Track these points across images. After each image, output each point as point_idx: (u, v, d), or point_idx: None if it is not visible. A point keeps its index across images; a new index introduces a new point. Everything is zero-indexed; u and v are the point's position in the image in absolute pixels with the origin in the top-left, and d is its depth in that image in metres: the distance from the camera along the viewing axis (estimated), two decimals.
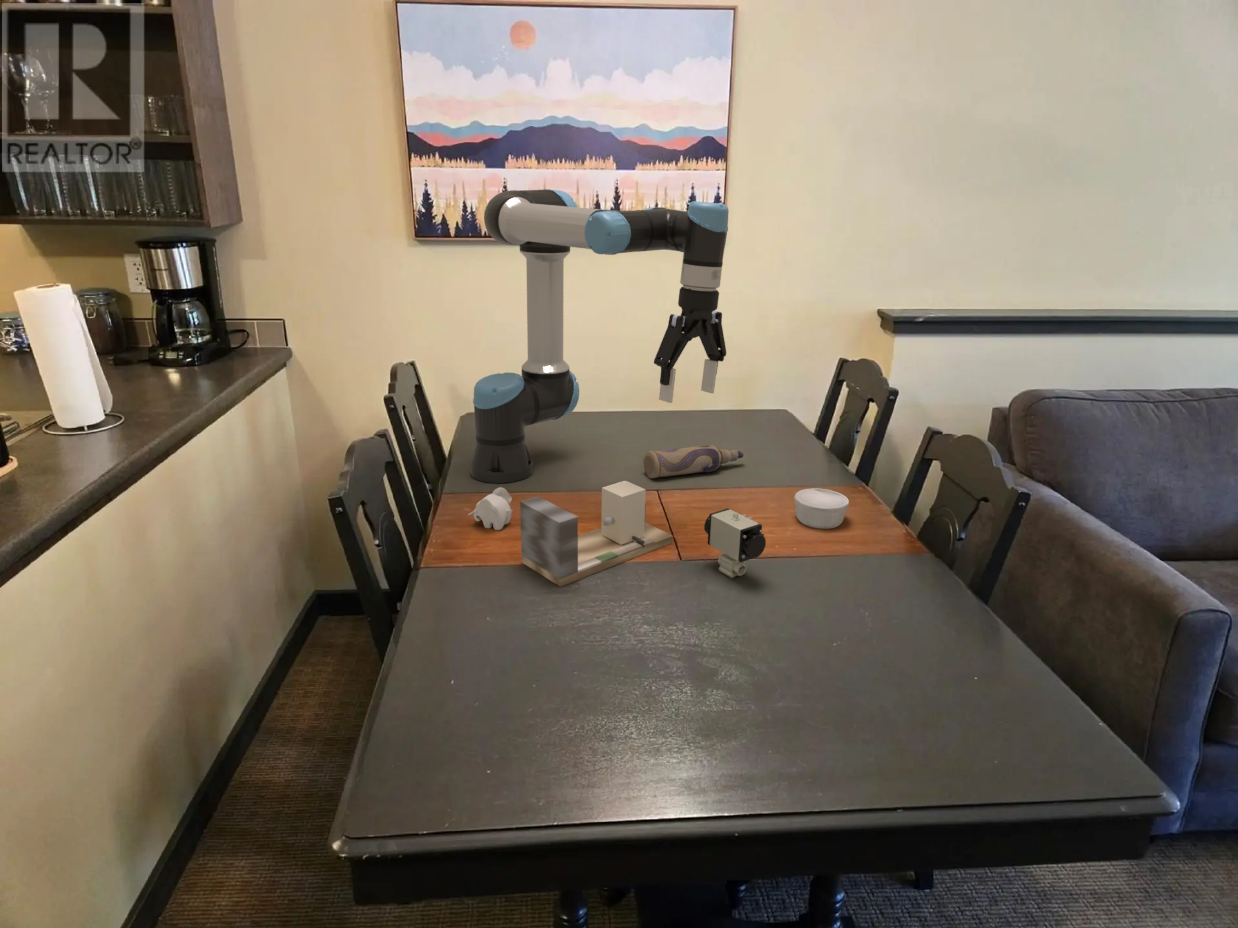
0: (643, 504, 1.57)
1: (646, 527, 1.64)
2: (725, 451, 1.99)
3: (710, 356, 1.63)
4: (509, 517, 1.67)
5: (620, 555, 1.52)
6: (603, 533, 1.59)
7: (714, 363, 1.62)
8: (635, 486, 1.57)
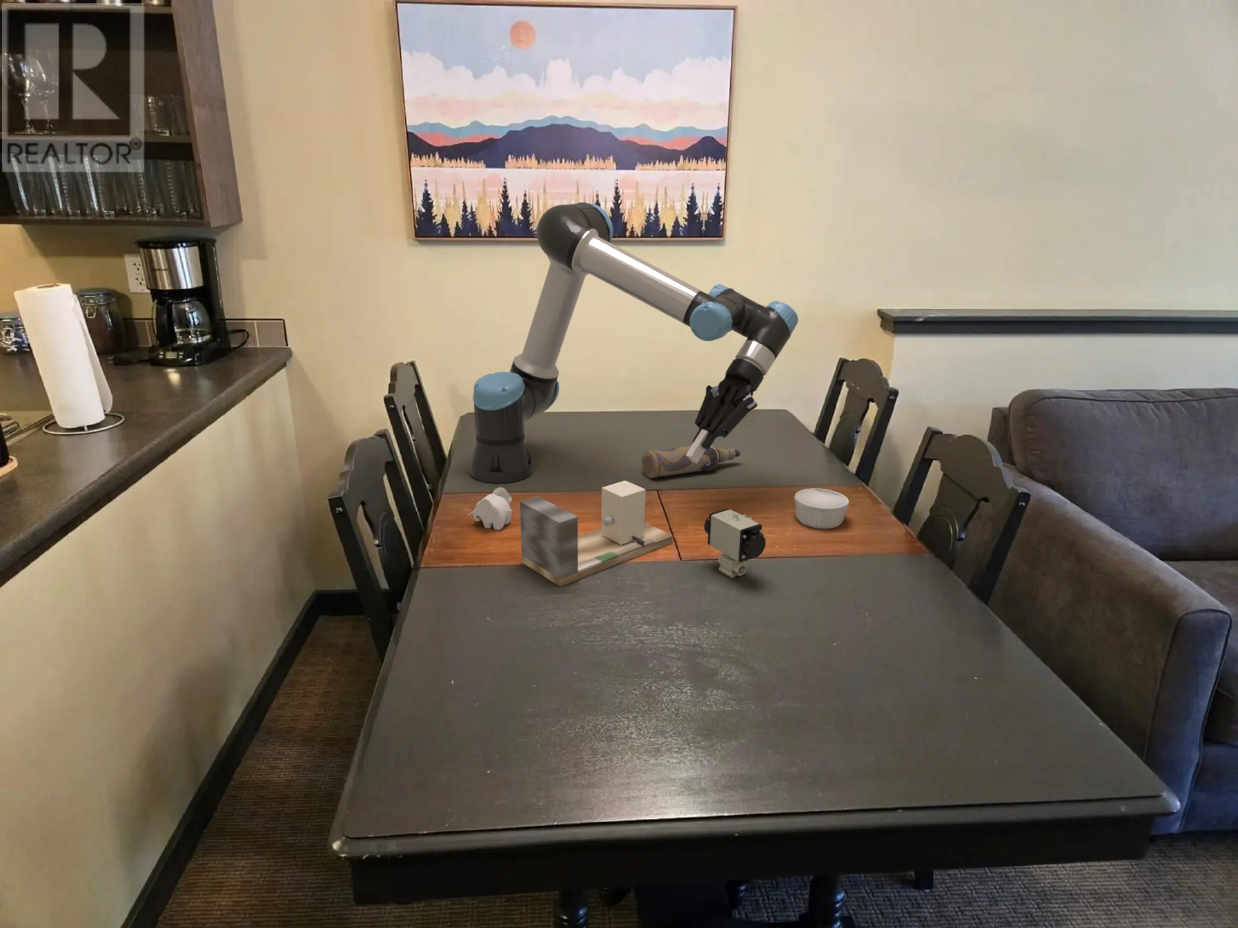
0: (643, 504, 1.57)
1: (646, 527, 1.64)
2: (723, 450, 2.00)
3: (705, 428, 1.68)
4: (509, 517, 1.67)
5: (620, 555, 1.52)
6: (603, 533, 1.59)
7: None
8: (635, 486, 1.57)
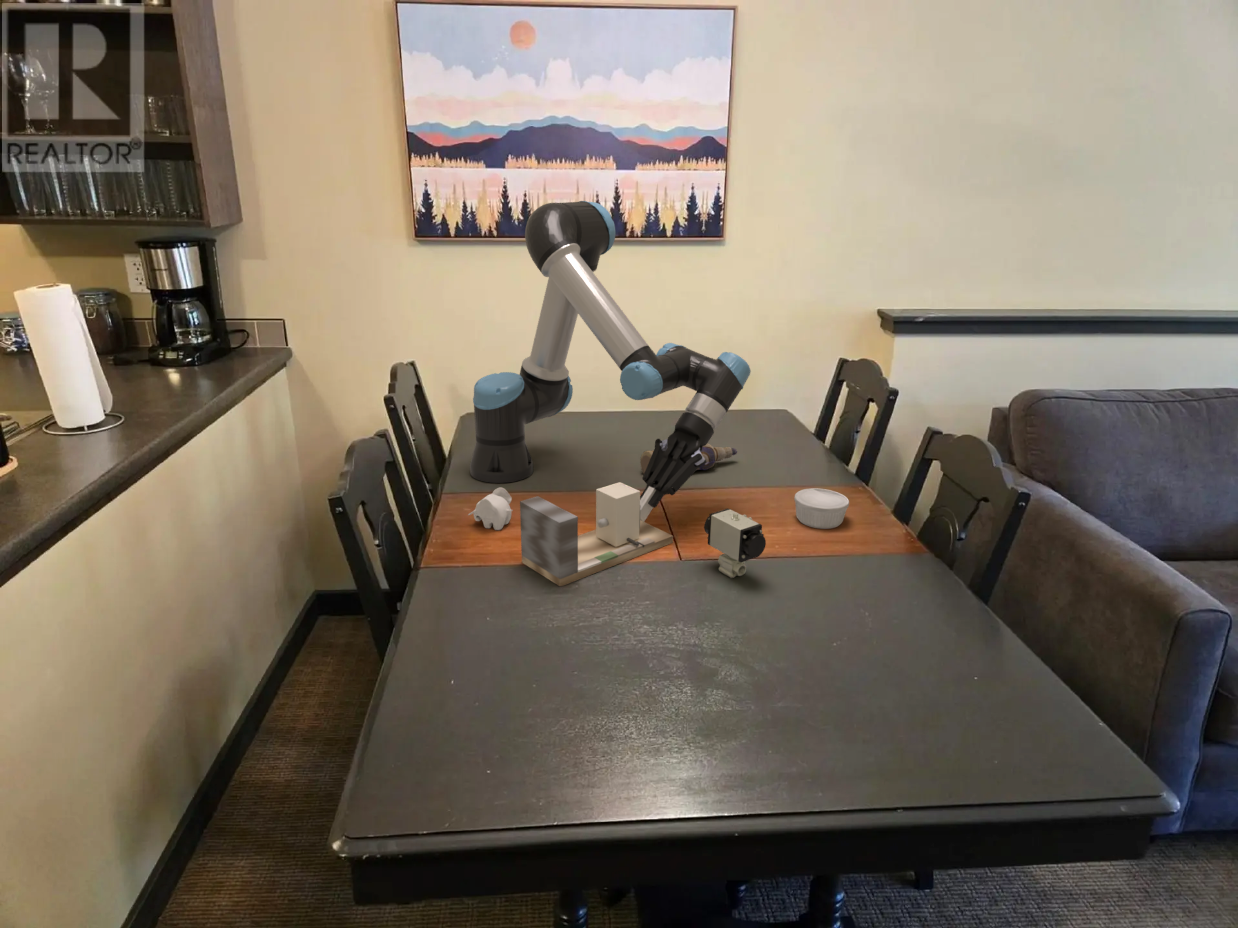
0: (638, 506, 1.56)
1: (646, 527, 1.64)
2: (720, 448, 2.01)
3: (653, 485, 1.62)
4: (509, 517, 1.67)
5: (620, 555, 1.52)
6: (597, 535, 1.59)
7: None
8: (630, 488, 1.56)
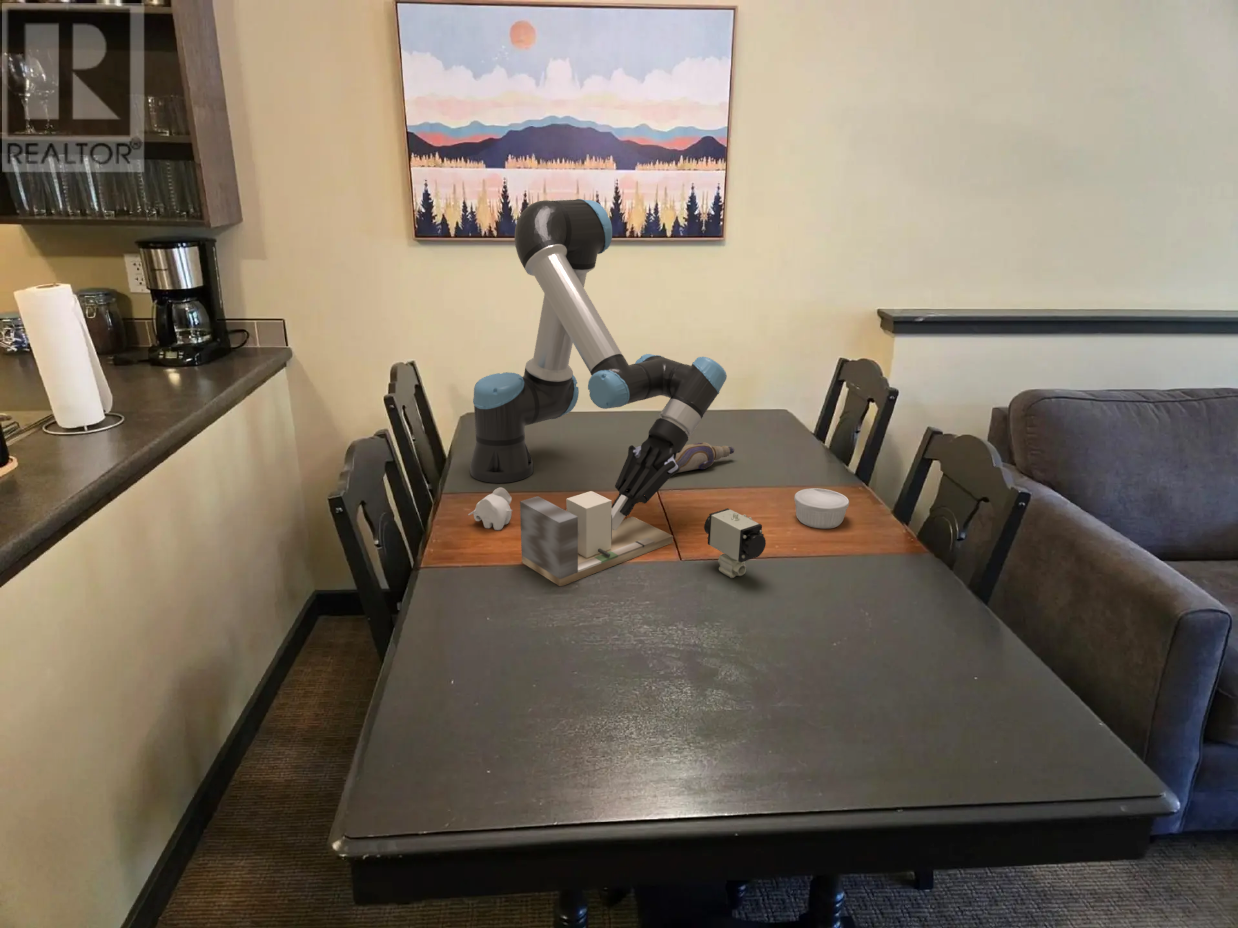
0: (609, 516, 1.51)
1: (646, 527, 1.64)
2: (718, 447, 2.01)
3: (625, 493, 1.58)
4: (509, 517, 1.67)
5: (620, 555, 1.52)
6: None
7: None
8: (601, 497, 1.52)
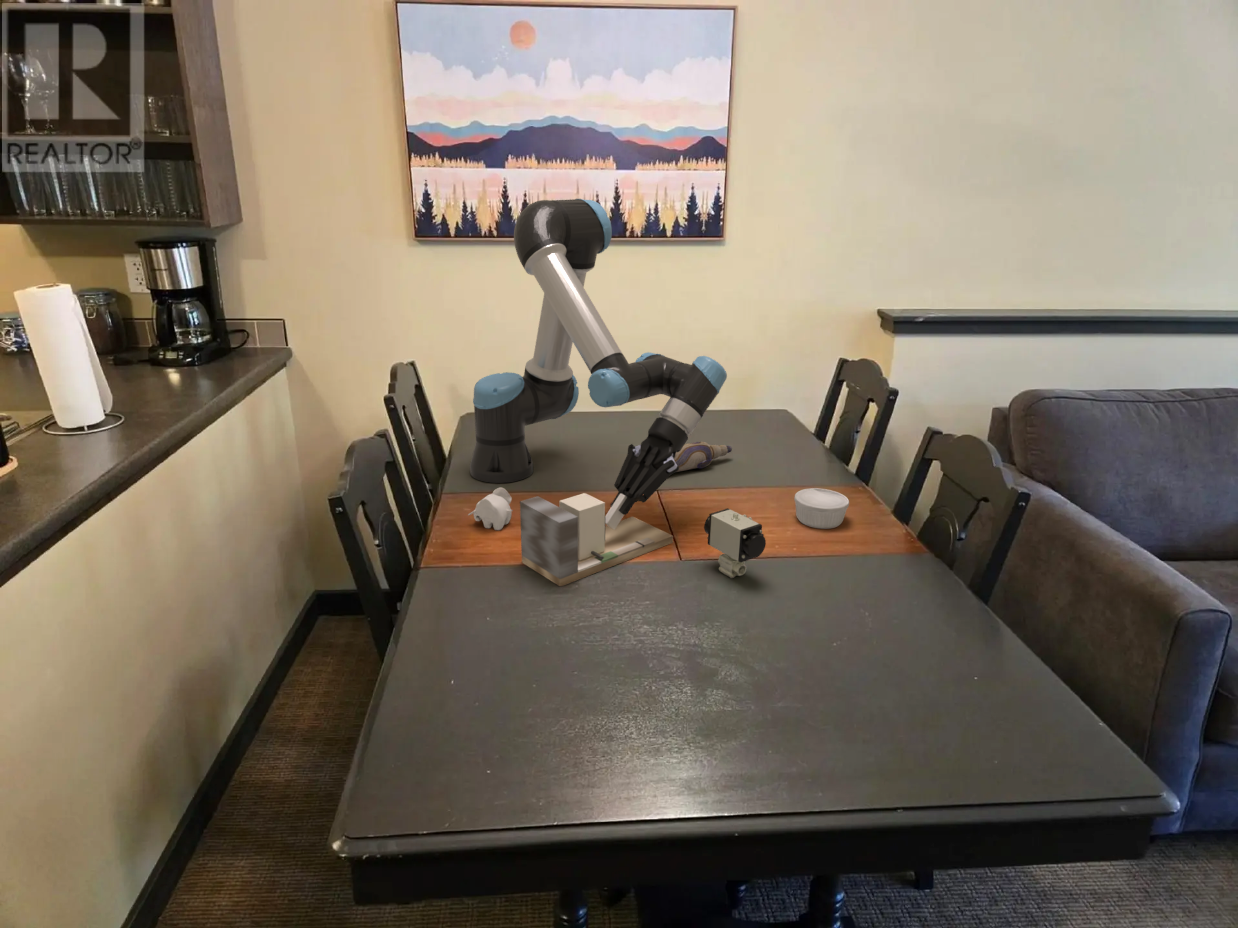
0: (602, 518, 1.50)
1: (646, 527, 1.64)
2: (715, 446, 2.02)
3: (624, 492, 1.58)
4: (509, 517, 1.67)
5: (620, 555, 1.52)
6: None
7: None
8: (594, 499, 1.51)
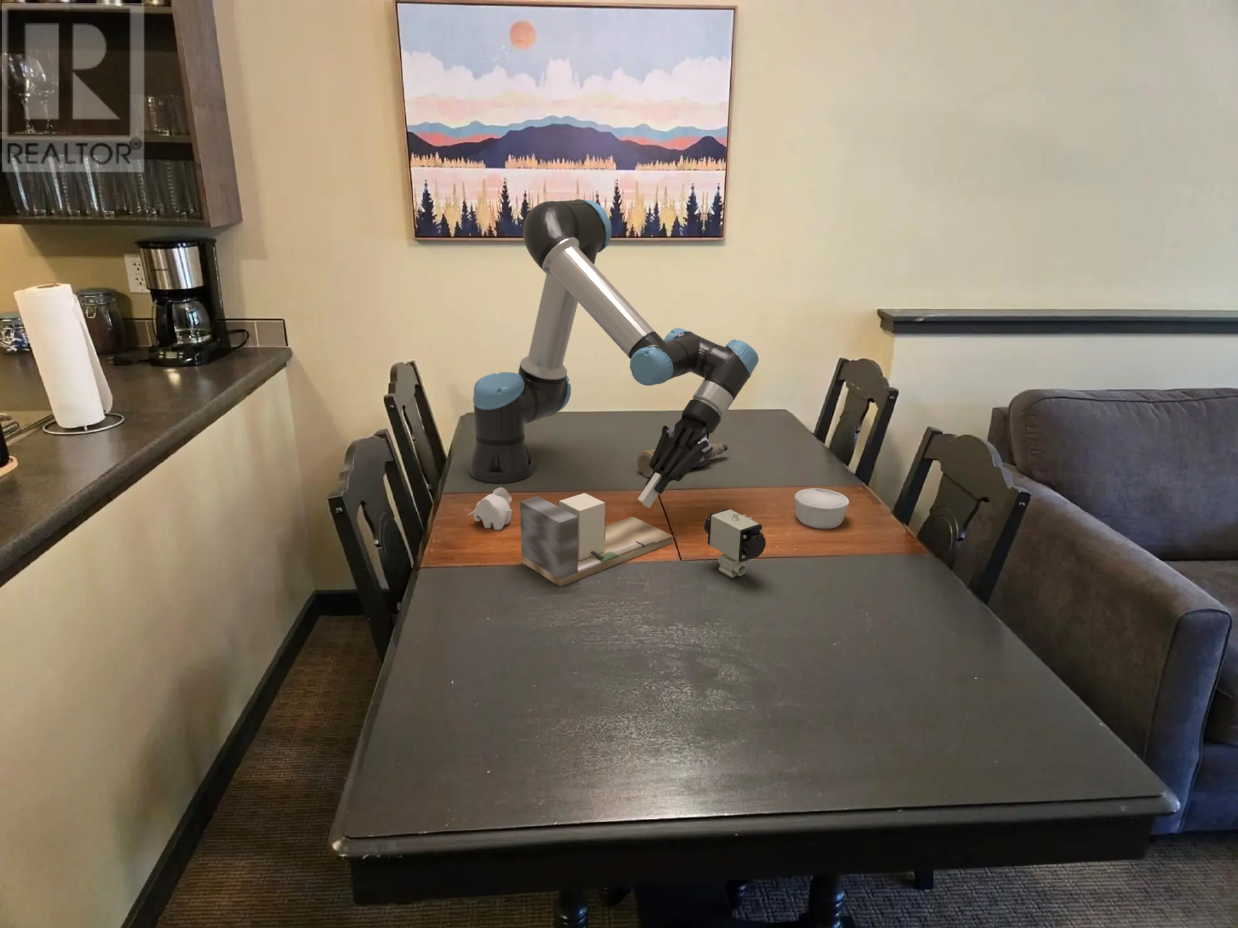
0: (602, 518, 1.50)
1: (646, 527, 1.64)
2: (712, 445, 2.03)
3: (659, 471, 1.62)
4: (509, 517, 1.67)
5: (620, 555, 1.52)
6: None
7: None
8: (594, 499, 1.51)
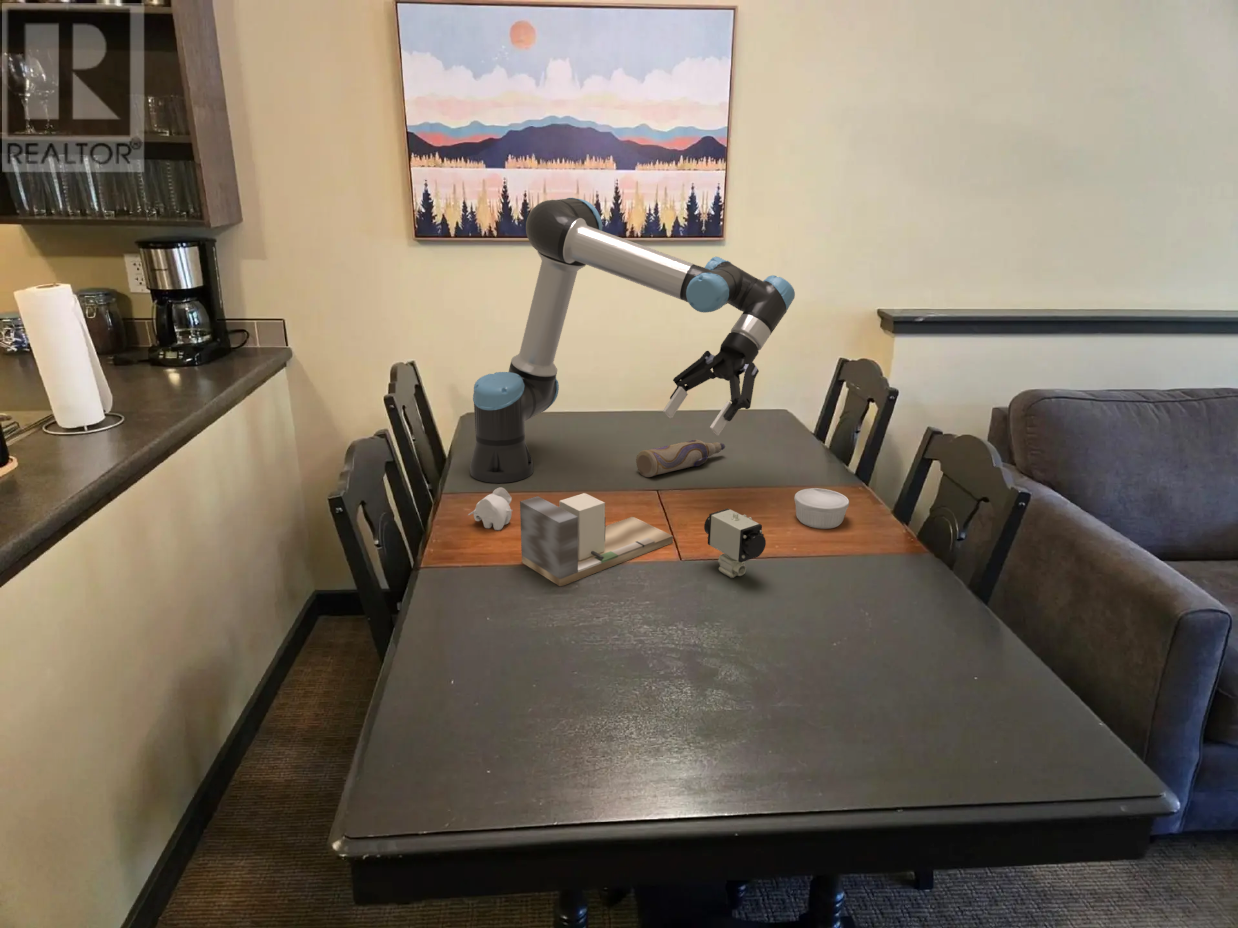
0: (602, 518, 1.50)
1: (646, 527, 1.64)
2: (710, 444, 2.03)
3: (683, 385, 1.72)
4: (509, 517, 1.67)
5: (620, 555, 1.52)
6: None
7: (686, 394, 1.72)
8: (594, 499, 1.51)
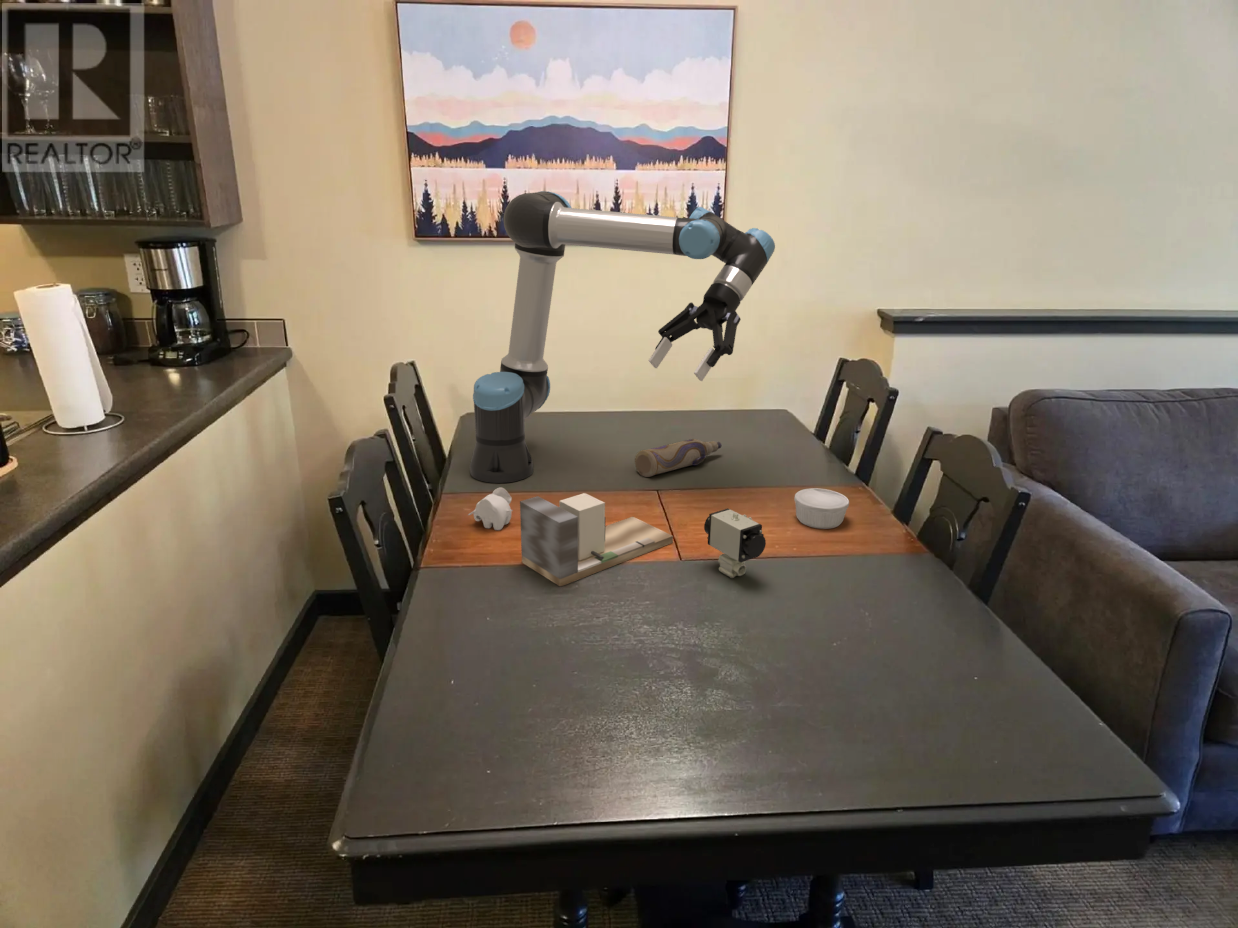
0: (602, 518, 1.50)
1: (646, 527, 1.64)
2: (707, 443, 2.04)
3: (668, 336, 1.77)
4: (509, 517, 1.67)
5: (620, 555, 1.52)
6: None
7: (671, 345, 1.77)
8: (594, 499, 1.51)
